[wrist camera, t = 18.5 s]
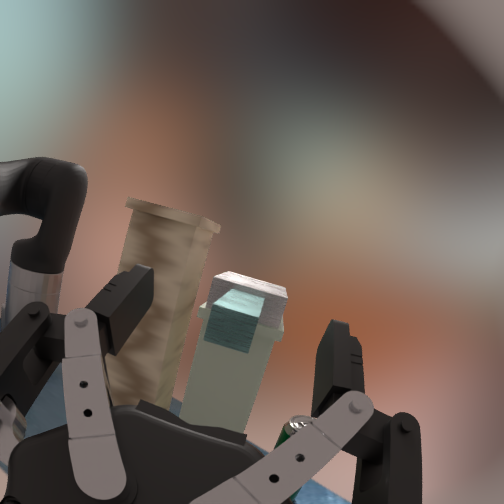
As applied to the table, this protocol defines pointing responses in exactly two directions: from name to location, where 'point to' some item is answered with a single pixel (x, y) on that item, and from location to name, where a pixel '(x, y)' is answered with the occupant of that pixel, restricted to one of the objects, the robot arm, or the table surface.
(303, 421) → the soda can
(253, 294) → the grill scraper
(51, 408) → the table surface
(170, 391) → the high stand
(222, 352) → the low stand
